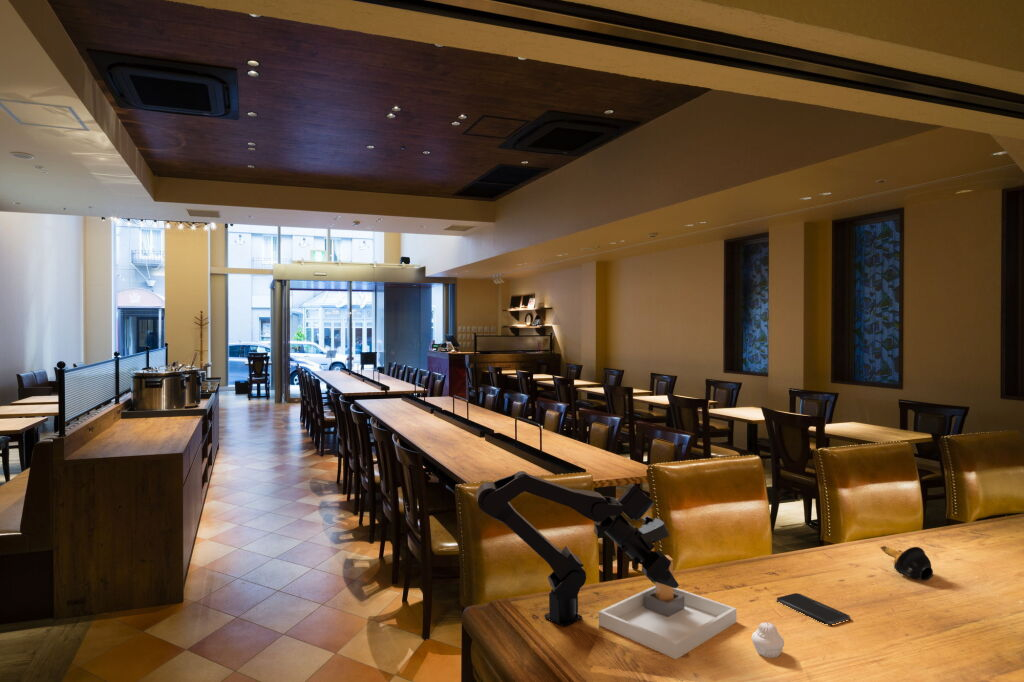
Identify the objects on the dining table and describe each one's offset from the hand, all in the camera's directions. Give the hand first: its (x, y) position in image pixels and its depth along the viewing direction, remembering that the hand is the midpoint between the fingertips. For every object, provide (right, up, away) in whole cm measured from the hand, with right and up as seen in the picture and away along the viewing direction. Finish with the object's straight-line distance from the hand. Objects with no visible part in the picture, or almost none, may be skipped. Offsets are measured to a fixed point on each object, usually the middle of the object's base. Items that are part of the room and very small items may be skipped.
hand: (669, 579), depth 143 cm
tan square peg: (-1, -7, 0) cm, 7 cm away
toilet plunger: (+72, -8, +24) cm, 76 cm away
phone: (+34, -8, 0) cm, 35 cm away
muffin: (+14, -8, -21) cm, 27 cm away
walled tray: (-3, -8, -8) cm, 11 cm away
